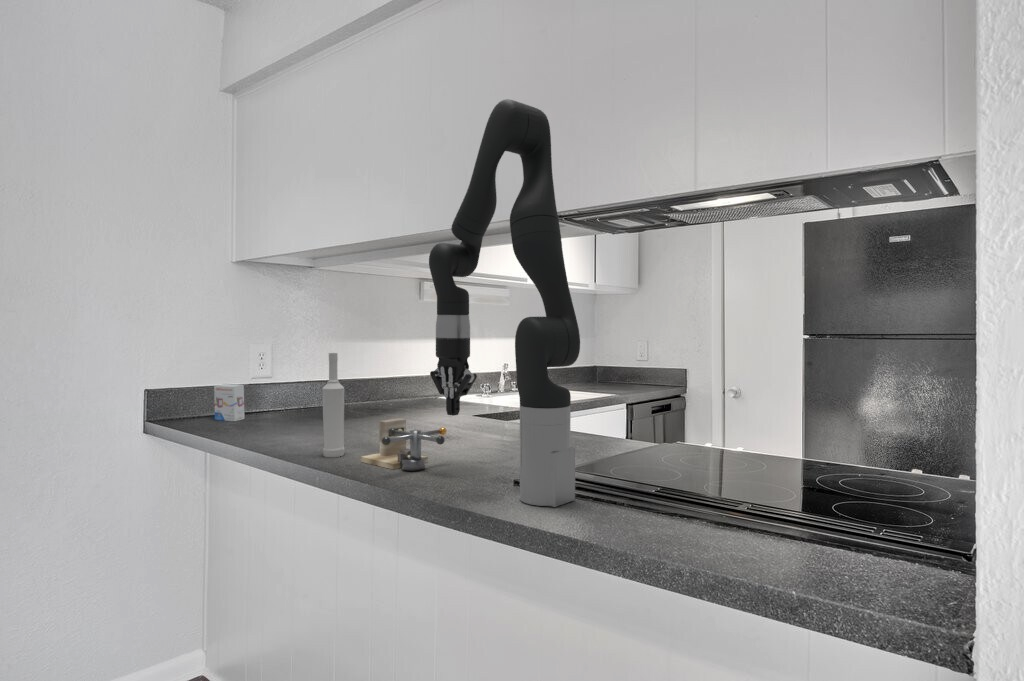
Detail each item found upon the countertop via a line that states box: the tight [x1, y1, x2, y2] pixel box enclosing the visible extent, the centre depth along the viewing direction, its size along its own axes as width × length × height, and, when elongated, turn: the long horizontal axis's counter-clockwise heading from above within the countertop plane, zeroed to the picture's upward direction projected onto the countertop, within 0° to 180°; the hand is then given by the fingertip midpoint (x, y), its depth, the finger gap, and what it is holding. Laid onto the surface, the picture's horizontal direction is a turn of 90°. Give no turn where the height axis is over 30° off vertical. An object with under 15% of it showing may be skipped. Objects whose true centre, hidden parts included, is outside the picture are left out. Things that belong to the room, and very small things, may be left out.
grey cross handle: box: [382, 426, 447, 472], centre depth 139 cm, size 18×18×8 cm
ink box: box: [213, 383, 245, 422], centre depth 212 cm, size 9×5×12 cm, turn 73°
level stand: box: [360, 418, 429, 470], centre depth 146 cm, size 14×10×9 cm
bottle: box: [321, 352, 346, 458], centre depth 154 cm, size 5×5×25 cm
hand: (452, 414), depth 139 cm, fingers closed
